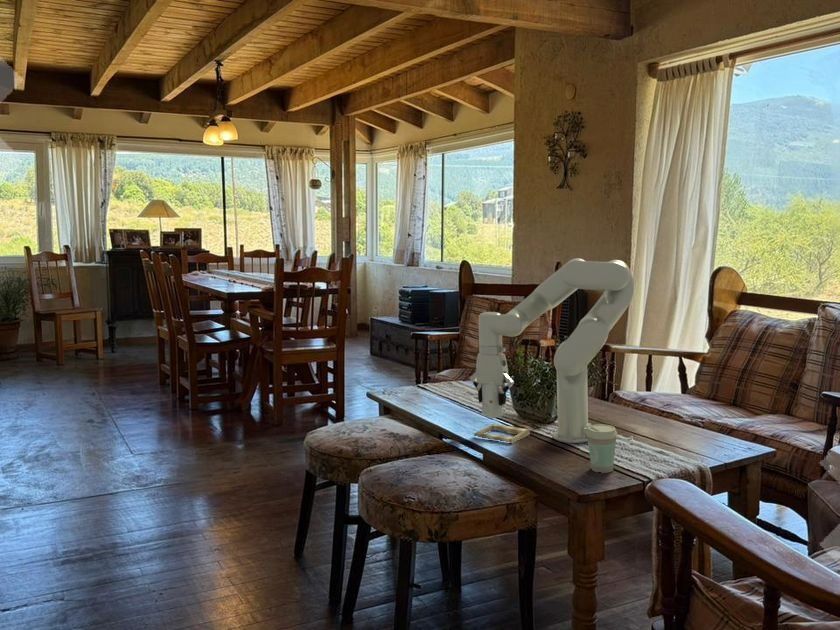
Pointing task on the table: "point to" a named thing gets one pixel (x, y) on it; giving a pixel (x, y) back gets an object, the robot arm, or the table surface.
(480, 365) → the robot arm
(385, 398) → the table surface
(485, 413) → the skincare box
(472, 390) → the table surface
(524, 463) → the table surface
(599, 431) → the coffee cup
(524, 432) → the gold picture frame
